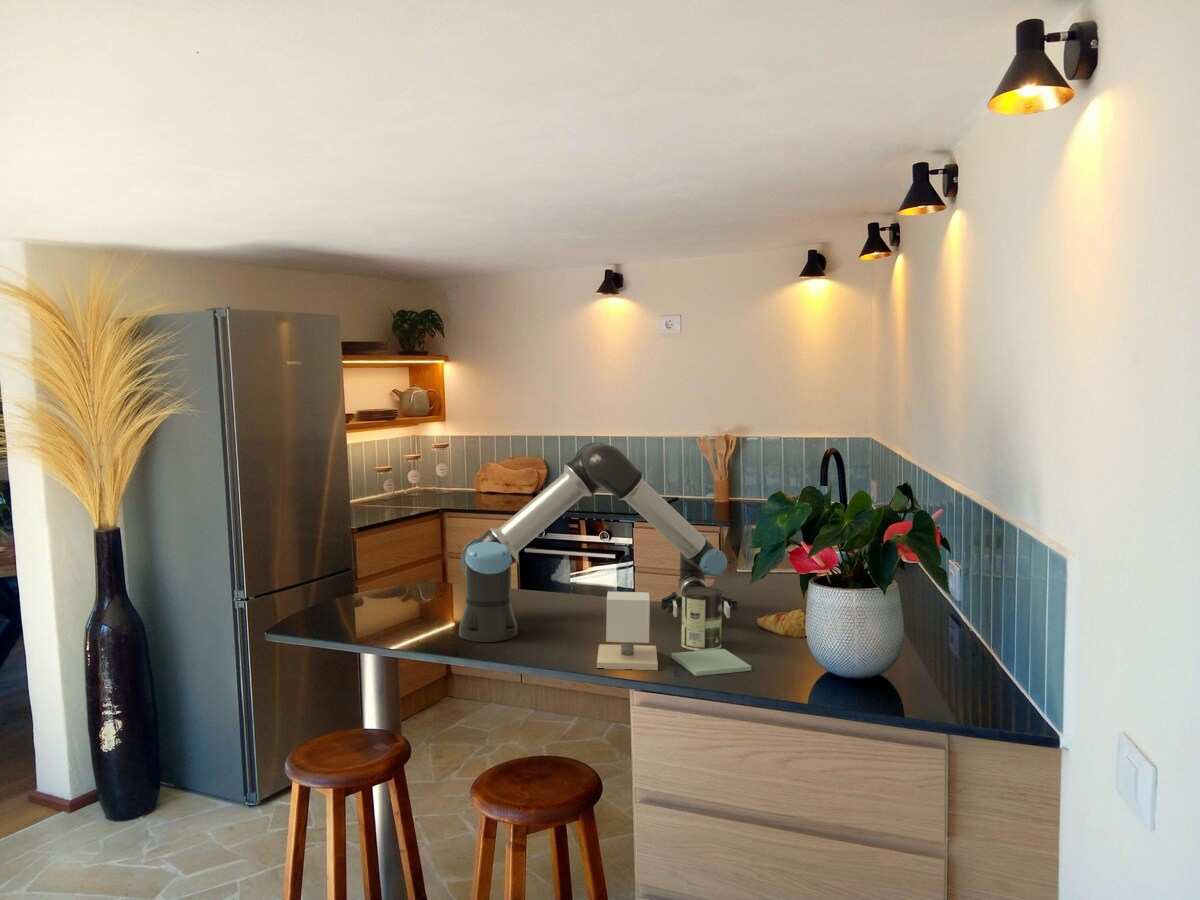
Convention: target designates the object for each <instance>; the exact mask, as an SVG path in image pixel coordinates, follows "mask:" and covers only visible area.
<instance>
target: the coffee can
mask: <svg viewBox="0 0 1200 900" xmlns="http://www.w3.org/2000/svg"><path fill="white" fill-rule="evenodd" d="M681 595H682V607H681V637H680V638H681V641H680V645H681V647H682V648H684V649H686V650H689V651H703V650H714V649H722V619H723V618H722V611H723V610H722V595H723V591H722V590H721V589H720V588H715V587H709V586H707V587H687V588H684V589H682V593H681Z"/></svg>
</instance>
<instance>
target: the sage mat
mask: <svg viewBox="0 0 1200 900" xmlns="http://www.w3.org/2000/svg"><path fill="white" fill-rule="evenodd" d="M671 658H672V659H673V660H674V661H676V662H677V663H678V664H680V666H682V667H683V668H685V669H686V670H687V671H688V672H689V673H691V674H692V675H694V677H698V676H699V677H700V676H701V677H702V676H710V675H711V676H712V675H720V674H728V673H729V674H730V673H740V672H749V671H752V665H750V664H748V662H745V661H744V660H743V659H741V658H739V657H738V656H736V655H734V653H731V652H730V651H729V650H727V649H725V648H720V649H714V650H703V651H694V650H691V651H683V652H672V653H671Z"/></svg>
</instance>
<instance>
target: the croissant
mask: <svg viewBox="0 0 1200 900" xmlns="http://www.w3.org/2000/svg"><path fill="white" fill-rule="evenodd" d="M806 612H807V611H806V610H803V609H800V608H798V609H794V610H791V611H790V612H781V611H780V612H776V613H775V614H767V615H765V616H763V617H758V618H757V620H756V623H757V625H758V626H760V627H761V628H762V629H764V630H766V631H769V632H772V633H774V634H778V635H781V636H787V637H788V636H789V637H792V636H793V638H806V637H805V615H806Z"/></svg>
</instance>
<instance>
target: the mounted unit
mask: <svg viewBox="0 0 1200 900" xmlns="http://www.w3.org/2000/svg"><path fill="white" fill-rule="evenodd" d="M650 600H651V599H650V592H649V591H648V592H647V591H646V592H644V591H642V592H641V591H607V595H606V620H605V621H606V624H605V625H606V627H605V628H606V629H605V633H606V635H605V639H606V640H605V642H606V643H608V642H609V643H620V644H601V643H600V644H599V645H598V652H597V658H596V669H597V668H604V669H603V670H625V669H632V671H633V670H634V671H658V669H659V668H658V667H659V666H658V665H659V664H658V654H657V653H658V652H657V647H656V646H657V645H643V644H644V643H645V644H649V643H650V615H651V614H650V612H651V611H650V606H651V605H650V603H651V602H650ZM635 643H643V644H642V645H641V644H639V645H637V644H635Z"/></svg>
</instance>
